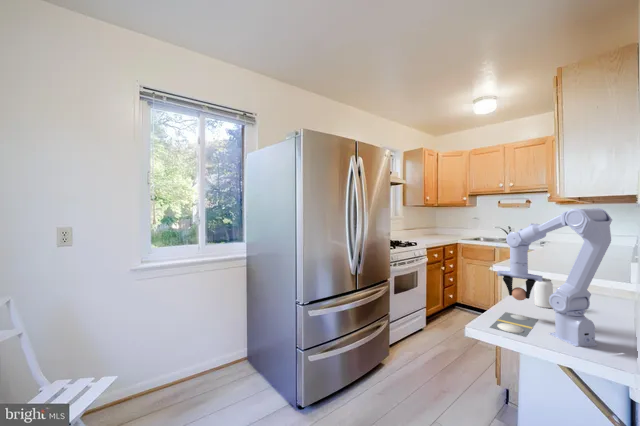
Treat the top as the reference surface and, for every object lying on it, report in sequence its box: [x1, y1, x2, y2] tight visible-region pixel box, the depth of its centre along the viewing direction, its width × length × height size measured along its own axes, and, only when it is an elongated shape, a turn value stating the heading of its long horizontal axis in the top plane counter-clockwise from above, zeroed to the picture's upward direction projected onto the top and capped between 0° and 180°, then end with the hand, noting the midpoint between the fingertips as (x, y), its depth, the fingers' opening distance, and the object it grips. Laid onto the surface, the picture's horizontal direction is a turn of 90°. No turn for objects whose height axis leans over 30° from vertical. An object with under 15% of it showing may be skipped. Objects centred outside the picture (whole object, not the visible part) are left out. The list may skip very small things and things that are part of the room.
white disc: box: [497, 323, 524, 334], centre depth 101 cm, size 8×8×1 cm
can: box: [533, 277, 554, 309], centre depth 125 cm, size 6×6×12 cm
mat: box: [489, 311, 539, 338], centre depth 106 cm, size 22×11×1 cm, turn 133°
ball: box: [512, 286, 527, 301], centre depth 111 cm, size 5×5×5 cm
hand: (519, 296), depth 111 cm, fingers closed on ball, 5 cm apart
